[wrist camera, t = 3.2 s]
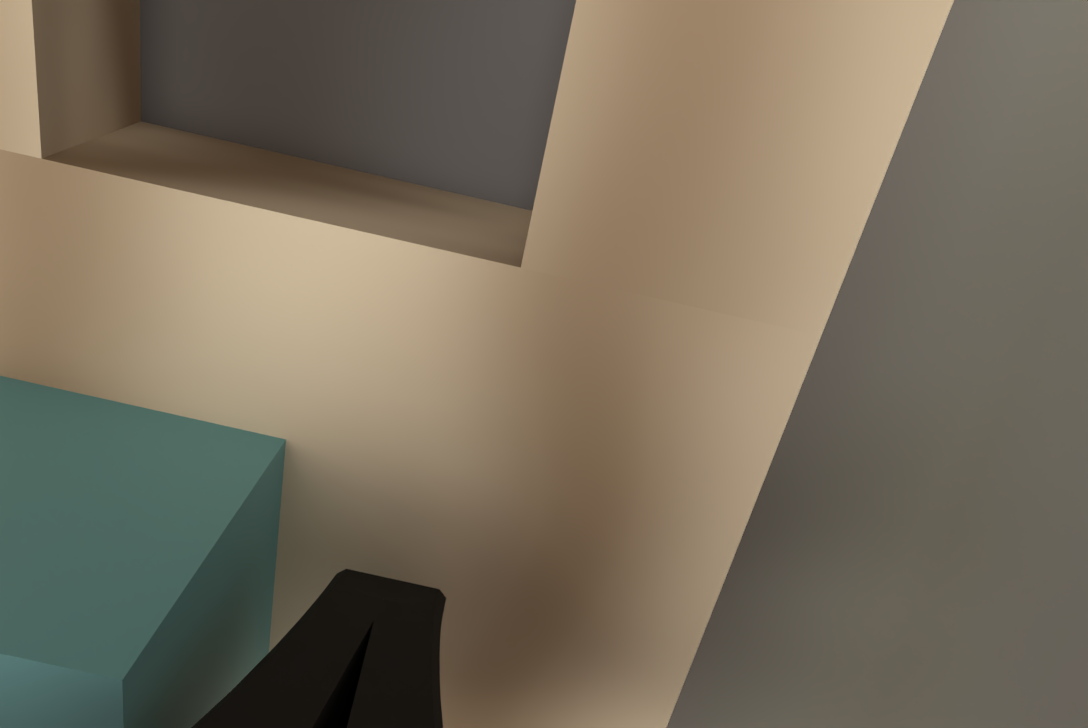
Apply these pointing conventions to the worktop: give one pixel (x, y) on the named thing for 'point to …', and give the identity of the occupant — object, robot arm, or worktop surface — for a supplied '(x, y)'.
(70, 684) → the block
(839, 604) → the worktop surface
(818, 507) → the worktop surface
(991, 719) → the worktop surface
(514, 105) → the board
